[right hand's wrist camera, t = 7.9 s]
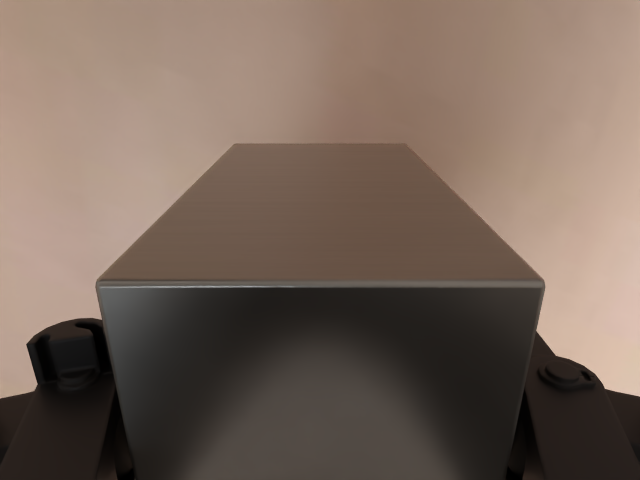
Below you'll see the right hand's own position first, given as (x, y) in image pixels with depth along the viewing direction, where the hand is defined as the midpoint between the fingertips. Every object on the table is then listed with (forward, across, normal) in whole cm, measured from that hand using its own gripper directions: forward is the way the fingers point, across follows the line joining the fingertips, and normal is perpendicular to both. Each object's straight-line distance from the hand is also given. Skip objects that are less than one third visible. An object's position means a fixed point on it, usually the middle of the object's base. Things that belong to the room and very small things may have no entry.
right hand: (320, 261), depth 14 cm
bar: (+1, 0, -9) cm, 9 cm away
